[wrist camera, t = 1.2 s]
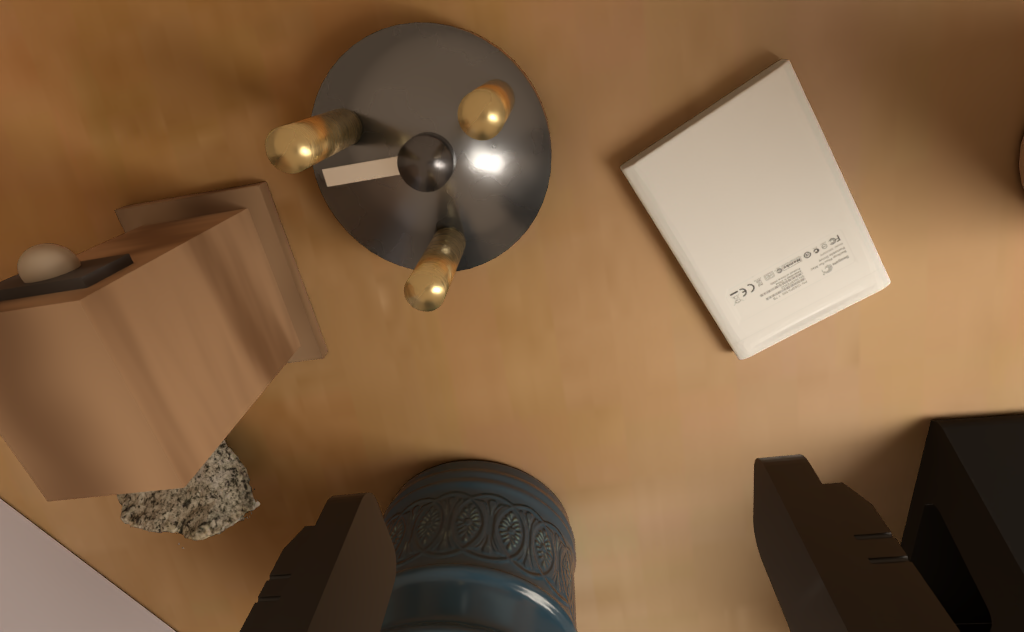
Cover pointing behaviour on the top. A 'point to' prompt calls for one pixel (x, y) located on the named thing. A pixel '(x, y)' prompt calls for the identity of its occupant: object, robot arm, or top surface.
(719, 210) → the external hard drive
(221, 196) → the brown angular box
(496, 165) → the three-bulb candle holder
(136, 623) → the game console
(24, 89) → the top surface
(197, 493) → the rock sample
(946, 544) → the device stand
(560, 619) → the canister
